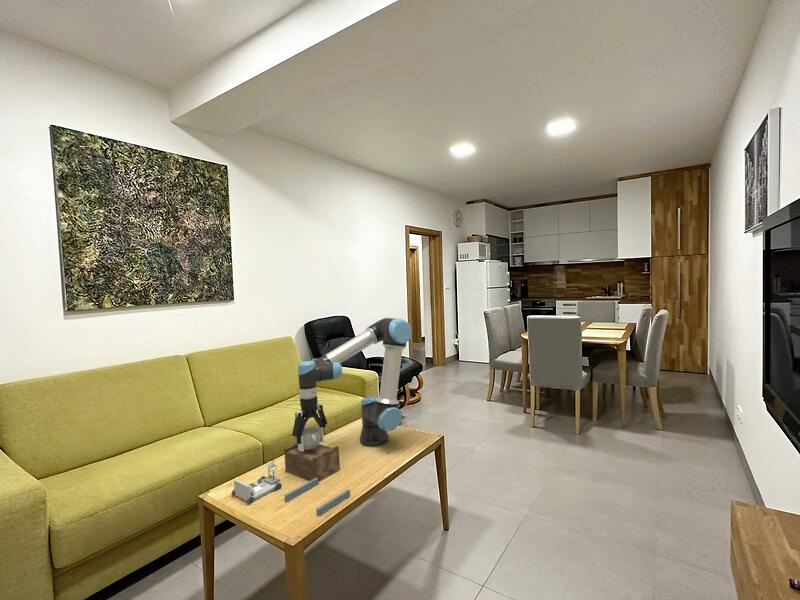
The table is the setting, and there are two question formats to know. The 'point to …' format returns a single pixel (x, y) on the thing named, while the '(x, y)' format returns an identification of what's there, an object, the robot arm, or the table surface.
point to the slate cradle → (325, 506)
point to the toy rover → (257, 486)
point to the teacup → (311, 437)
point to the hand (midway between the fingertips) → (311, 445)
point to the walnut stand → (312, 462)
